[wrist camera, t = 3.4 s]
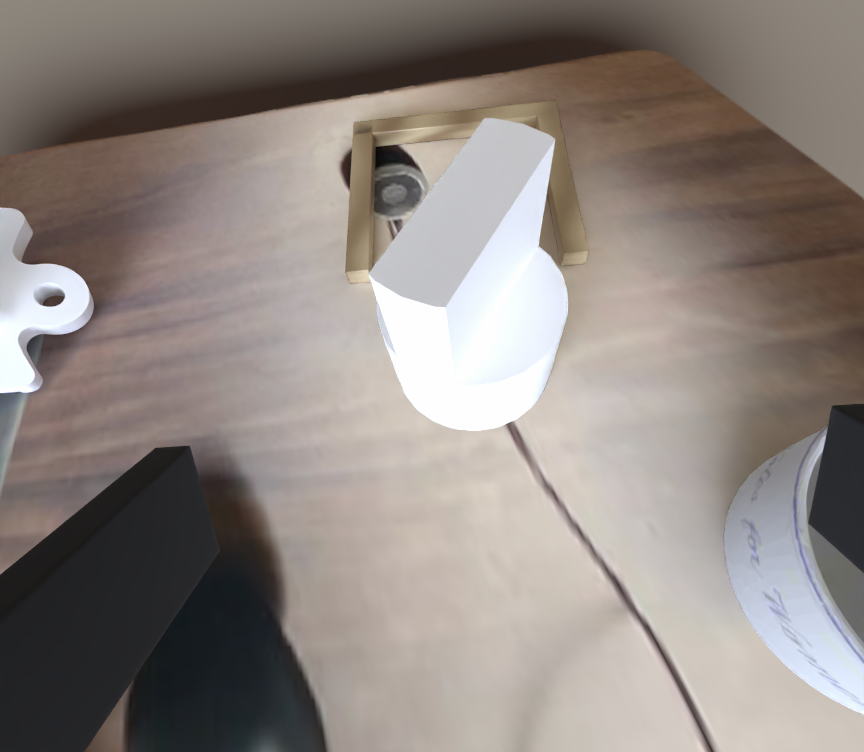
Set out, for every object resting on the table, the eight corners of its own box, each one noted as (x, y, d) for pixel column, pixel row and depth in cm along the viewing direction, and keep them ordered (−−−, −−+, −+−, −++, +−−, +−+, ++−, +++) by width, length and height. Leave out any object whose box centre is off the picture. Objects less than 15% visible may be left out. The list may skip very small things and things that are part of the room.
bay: (349, 283, 31) (345, 272, 30) (357, 135, 37) (353, 121, 36) (585, 263, 30) (588, 251, 29) (553, 114, 36) (555, 99, 35)
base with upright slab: (507, 460, 25) (527, 352, 14) (367, 386, 28) (294, 249, 17) (576, 328, 28) (636, 157, 17) (443, 273, 31) (423, 94, 20)
